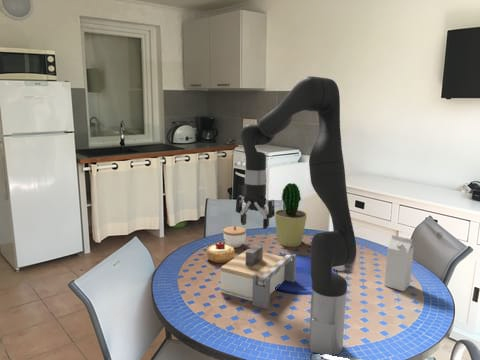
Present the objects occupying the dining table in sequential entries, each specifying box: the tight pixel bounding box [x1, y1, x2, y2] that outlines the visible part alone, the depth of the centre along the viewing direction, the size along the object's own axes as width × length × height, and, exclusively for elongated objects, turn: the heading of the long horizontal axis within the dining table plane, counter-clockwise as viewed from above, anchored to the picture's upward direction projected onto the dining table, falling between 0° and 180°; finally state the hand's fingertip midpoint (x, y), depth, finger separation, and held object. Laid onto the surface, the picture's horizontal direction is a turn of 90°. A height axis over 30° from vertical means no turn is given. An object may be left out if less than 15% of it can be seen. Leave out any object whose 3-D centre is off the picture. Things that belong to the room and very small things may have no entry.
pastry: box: [206, 238, 235, 264], centre depth 169 cm, size 12×12×9 cm
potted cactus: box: [274, 182, 308, 248], centre depth 188 cm, size 15×15×30 cm
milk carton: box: [383, 234, 415, 292], centre depth 145 cm, size 7×7×19 cm
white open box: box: [220, 251, 297, 310], centre depth 143 cm, size 25×20×10 cm
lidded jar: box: [223, 225, 247, 249], centre depth 185 cm, size 11×11×9 cm
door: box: [220, 244, 293, 285], centre depth 142 cm, size 25×18×6 cm
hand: (254, 226), depth 140 cm, fingers open, 8 cm apart
